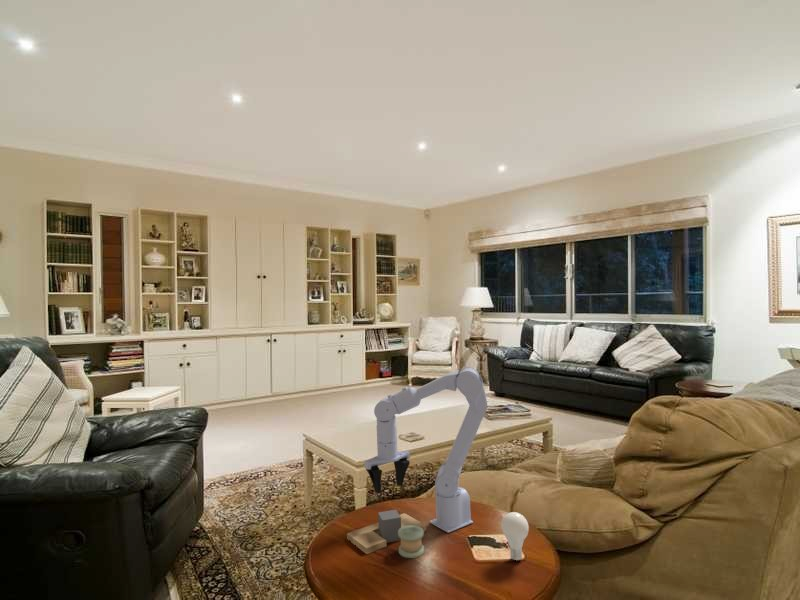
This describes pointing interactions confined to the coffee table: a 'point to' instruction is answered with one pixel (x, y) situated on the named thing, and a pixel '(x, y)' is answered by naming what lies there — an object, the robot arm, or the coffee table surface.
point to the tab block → (389, 525)
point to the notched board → (371, 540)
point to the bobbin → (411, 541)
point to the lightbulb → (515, 533)
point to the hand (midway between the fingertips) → (388, 488)
